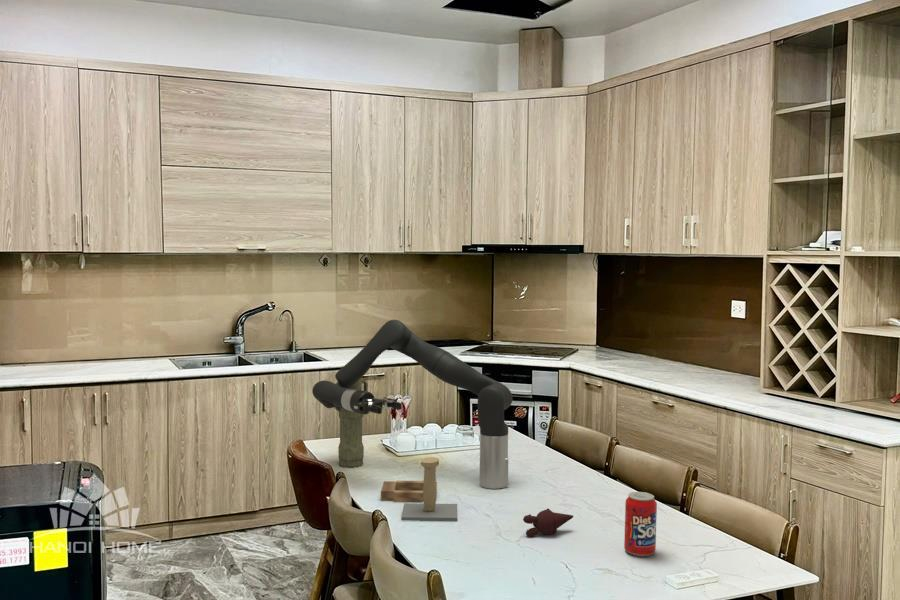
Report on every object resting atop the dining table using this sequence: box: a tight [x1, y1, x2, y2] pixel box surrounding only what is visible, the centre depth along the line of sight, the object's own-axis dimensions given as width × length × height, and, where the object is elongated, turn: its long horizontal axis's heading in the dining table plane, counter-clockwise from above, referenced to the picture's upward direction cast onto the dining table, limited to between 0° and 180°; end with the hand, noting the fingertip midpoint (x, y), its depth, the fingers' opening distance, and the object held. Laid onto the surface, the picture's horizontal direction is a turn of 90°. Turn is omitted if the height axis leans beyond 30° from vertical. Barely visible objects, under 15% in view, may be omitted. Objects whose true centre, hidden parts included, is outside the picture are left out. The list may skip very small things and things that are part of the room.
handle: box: [420, 456, 440, 512], centre depth 225 cm, size 5×6×15 cm
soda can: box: [623, 491, 658, 557], centre depth 198 cm, size 8×8×15 cm
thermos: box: [333, 377, 369, 469], centre depth 275 cm, size 9×12×35 cm
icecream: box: [522, 508, 574, 538], centre depth 211 cm, size 7×7×15 cm
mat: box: [400, 502, 458, 522], centre depth 226 cm, size 16×12×1 cm
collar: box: [380, 480, 438, 503], centre depth 242 cm, size 17×12×3 cm
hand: (391, 408), depth 244 cm, fingers open, 8 cm apart
